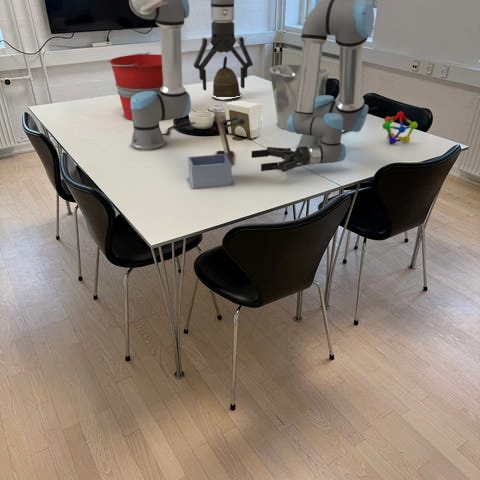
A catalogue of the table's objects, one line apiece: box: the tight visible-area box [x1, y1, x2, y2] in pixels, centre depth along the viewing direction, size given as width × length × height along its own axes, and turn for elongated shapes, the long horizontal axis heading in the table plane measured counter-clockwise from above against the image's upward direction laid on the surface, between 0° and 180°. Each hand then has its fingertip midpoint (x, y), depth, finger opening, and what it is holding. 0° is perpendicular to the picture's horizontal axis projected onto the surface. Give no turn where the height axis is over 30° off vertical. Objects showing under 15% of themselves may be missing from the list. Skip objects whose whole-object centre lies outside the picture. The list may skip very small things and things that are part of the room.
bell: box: [212, 56, 242, 97], centre depth 278 cm, size 19×26×20 cm
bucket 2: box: [269, 63, 330, 130], centre depth 226 cm, size 30×30×28 cm
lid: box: [214, 113, 246, 163], centre depth 165 cm, size 16×10×9 cm
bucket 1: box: [106, 51, 163, 121], centre depth 240 cm, size 35×35×30 cm
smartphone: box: [216, 150, 234, 165], centre depth 192 cm, size 7×1×15 cm
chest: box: [187, 154, 233, 190], centre depth 170 cm, size 15×10×9 cm, turn 104°
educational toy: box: [382, 110, 418, 145], centre depth 207 cm, size 16×13×15 cm
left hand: (223, 88), depth 155 cm, fingers open, 13 cm apart
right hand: (256, 160), depth 173 cm, fingers open, 13 cm apart
